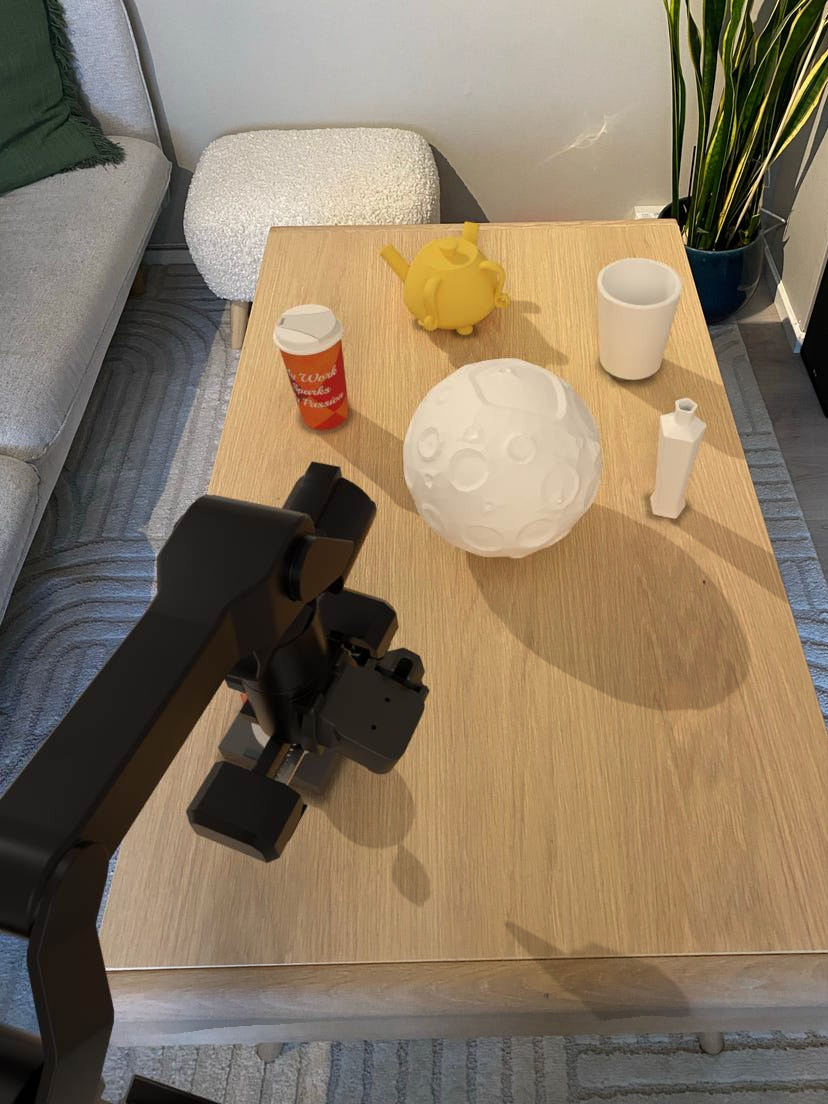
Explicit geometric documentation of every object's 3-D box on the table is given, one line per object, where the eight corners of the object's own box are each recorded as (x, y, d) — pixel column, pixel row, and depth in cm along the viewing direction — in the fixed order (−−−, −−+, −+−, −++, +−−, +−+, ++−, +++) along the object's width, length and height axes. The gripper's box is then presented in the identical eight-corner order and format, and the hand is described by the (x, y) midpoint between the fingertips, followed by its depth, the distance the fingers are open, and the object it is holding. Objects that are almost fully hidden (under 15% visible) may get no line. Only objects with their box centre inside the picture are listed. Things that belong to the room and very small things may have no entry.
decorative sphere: (630, 556, 95) (650, 424, 81) (451, 623, 90) (439, 494, 76) (548, 434, 107) (554, 300, 93) (387, 486, 103) (366, 353, 88)
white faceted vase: (657, 526, 98) (676, 427, 87) (639, 497, 100) (655, 397, 89) (696, 515, 98) (719, 415, 87) (677, 486, 101) (697, 386, 90)
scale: (321, 796, 79) (317, 783, 77) (222, 757, 81) (215, 744, 80) (373, 697, 85) (369, 683, 83) (279, 664, 88) (274, 649, 86)
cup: (586, 341, 118) (592, 258, 109) (661, 337, 119) (674, 254, 109) (595, 393, 112) (603, 310, 102) (675, 389, 112) (690, 306, 102)
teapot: (477, 269, 130) (474, 199, 122) (521, 323, 121) (521, 252, 113) (383, 298, 126) (373, 228, 118) (421, 356, 117) (414, 285, 109)
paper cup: (285, 433, 109) (261, 342, 98) (304, 389, 114) (283, 298, 103) (349, 439, 108) (331, 348, 97) (365, 395, 113) (350, 304, 102)
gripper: (328, 843, 48) (363, 935, 59) (460, 572, 60) (468, 692, 71) (150, 772, 51) (216, 873, 62) (309, 527, 63) (340, 650, 74)
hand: (320, 765), depth 67 cm, fingers open, 9 cm apart
